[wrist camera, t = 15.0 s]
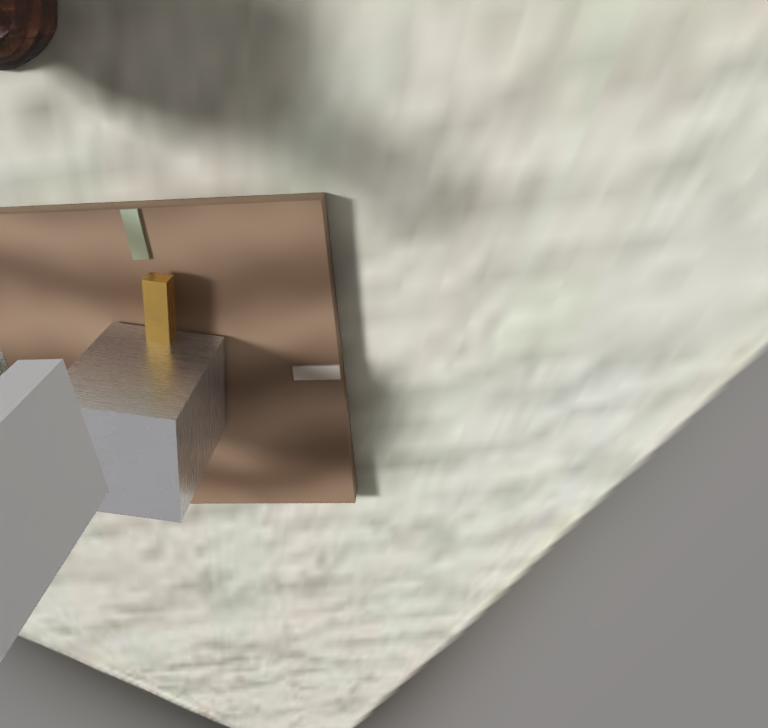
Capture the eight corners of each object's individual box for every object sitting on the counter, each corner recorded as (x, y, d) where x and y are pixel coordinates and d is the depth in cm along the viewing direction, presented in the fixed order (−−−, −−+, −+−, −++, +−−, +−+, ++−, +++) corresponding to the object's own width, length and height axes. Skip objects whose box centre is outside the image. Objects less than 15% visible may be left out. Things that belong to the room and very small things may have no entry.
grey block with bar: (225, 427, 45) (180, 522, 37) (121, 414, 45) (56, 505, 37) (223, 277, 39) (171, 351, 31) (106, 261, 39) (24, 331, 31)
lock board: (-37, 209, 40) (-55, 217, 38) (324, 192, 38) (320, 200, 36) (72, 490, 51) (61, 505, 49) (357, 488, 49) (354, 504, 47)
